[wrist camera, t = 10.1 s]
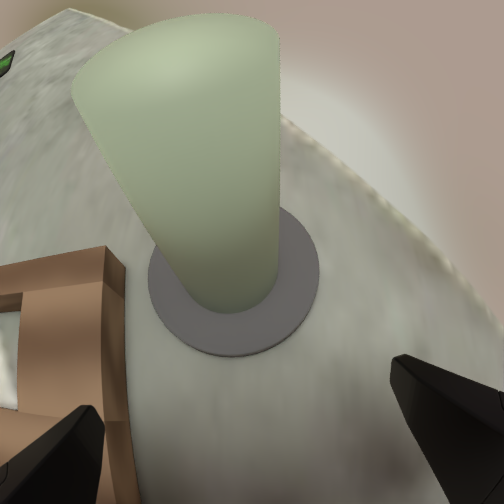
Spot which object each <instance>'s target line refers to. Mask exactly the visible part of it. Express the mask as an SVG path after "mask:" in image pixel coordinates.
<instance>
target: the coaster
mask: <svg viewBox="0 0 504 504" xmlns="http://www.w3.org/2000/svg"><path fill="white" fill-rule="evenodd" d="M318 282H319V261H318V255H317V252H316V249H315V246H314V243H313V241H312V239H311V237H310V235H309V234H308V232H307V231H306V229H305V228H304V226H303V225H302V224H301V223H300V222H299V221H298V220H297V219H296V218H295V217H294V216H293V215H291V214H290V213H289V212H287V211H286V210H284V209H283V208H281V207H279V252H278V274H277V279H276V282H275V284H274V286H273V288H272V290H271V291H270V293H269V294H268V295H267V297H266V298H265V299H264V300H263V301H261V302H260V303H259V304H258V305H256V306H254V307H253V308H251V309H249V310H246V311H243V312H239V313H233V314H222V313H217V312H213V311H210V310H208V309H205V308H203V307H202V306H200V305H199V304H198V303H197V302H195V301H194V300H193V298H192V297H191V296H190V295H189V293H188V292H187V290H186V289H185V287H184V286H183V285H182V283H181V282H180V280H179V279H178V277H177V276H176V274H175V273H174V271H173V270H172V268H171V267H170V265H169V264H168V262H167V261H166V259H165V258H164V256H163V254H162V253H161V251H160V250H159V248H158V247H157V245H156V246H155V248H154V251H153V254H152V256H151V260H150V264H149V270H148V288H149V293H150V298H151V301H152V304H153V306H154V309H155V311H156V313H157V314H158V316H159V318H160V319H161V321H162V322H163V323H164V325H165V326H166V327H167V328H168V329H169V330H170V331H171V332H172V333H173V334H174V335H175V336H177V337H178V338H179V339H180V340H182V341H183V342H185V343H186V344H187V345H189V346H191V347H193V348H195V349H197V350H199V351H202V352H204V353H207V354H211V355H216V356H222V357H242V356H248V355H253V354H257V353H260V352H262V351H265V350H268V349H270V348H272V347H274V346H276V345H278V344H279V343H280V342H282V341H283V340H285V339H286V338H288V337H289V336H290V335H291V334H292V333H293V332H294V331H295V330H296V329H297V328H298V327H299V325H300V324H301V323H302V322H303V320H304V319H305V317H306V315H307V314H308V312H309V310H310V308H311V305H312V303H313V301H314V298H315V295H316V291H317V287H318Z"/></svg>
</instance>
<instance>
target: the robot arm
mask: <svg viewBox="0 0 504 504" xmlns="http://www.w3.org/2000/svg"><path fill="white" fill-rule="evenodd" d="M390 384H391V387H392V389H393V392H394V394H395V396H396V399H397V401H398V403H399V406H400V408H401V411H402V413H403V415H404V418H405V420H406V422H407V425H408V427H409V428H410V430H411V432H412V434H413V436H414V437H415V439H416V441H417V443H418V445H419V446H420V448H421V450H422V452H423V454H424V455H425V457H426V459H427V461H428V463H429V465H430V467H431V468H432V470H433V472H434V474H435V476H436V478H437V480H438V481H439V483H440V485H441V487H442V489H443V491H444V493H445V495H446V497H447V499H448V501H449V503H450V504H504V392H502V391H499V392H498V390H496V389H494V388H491V387H488V386H486V385H483V384H480V383H478V382H475V381H473V380H470V379H467V378H465V377H462V376H460V375H457V374H455V373H452V372H450V371H447V370H444V369H442V368H439V367H437V366H434V365H432V364H429V363H427V362H424V361H422V360H420V359H417V358H415V357H412V356H410V355H407V354H402V355H399V356H396V357H394V358H393V359H392V362H391V372H390ZM104 437H105V425H104V422H103V421H102V419H101V417H100V416H99V414H98V412H97V411H96V409H95V407H94V406H92V405H80V406H79V407H77V408H76V409H75V410H73V411H72V412H71V413H70V414H68V415H67V416H66V417H64V418H63V419H62V420H61V421H59V422H58V423H57V424H55V425H54V426H53V427H52V428H50V429H49V430H48V431H46V432H45V433H44V434H42V435H41V436H40V437H39V438H37V439H36V440H35V441H33V442H32V443H31V444H30V445H28V446H27V447H26V448H24V449H23V450H22V451H20V452H19V453H18V454H16V455H15V456H14V457H13V458H11V459H10V460H9V462H6V463H5V464H3V465H2V466H1V467H0V504H96V499H97V493H98V487H99V482H100V476H101V470H102V460H103V448H104Z"/></svg>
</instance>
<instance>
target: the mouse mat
mask: <svg viewBox="0 0 504 504" xmlns="http://www.w3.org/2000/svg"><path fill="white" fill-rule="evenodd" d="M14 52H15V50H13V51H11V52H10V53H8V54H7V55H6V56H4V57H3V58H2V59H0V77H1V76H2V75H4V74H5V73H6V72H7V71H8V70H9V68H10V65H11V62H12V58H13V55H14Z"/></svg>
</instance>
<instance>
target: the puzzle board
mask: <svg viewBox="0 0 504 504" xmlns="http://www.w3.org/2000/svg"><path fill="white" fill-rule="evenodd" d="M124 295H125V267H124V265H123V264H122V263H121V262H120V261H119V260H118V259H117V258H116V257H115V255H114V254H113V253H112V252H111V251H110V250H109V249H108V248H107V246H106V245H105V246H100V247H95V248H89V249H84V250H79V251H73V252H68V253H63V254H58V255H53V256H48V257H43V258H38V259H33V260H28V261H23V262H18V263H13V264H9V265H4V266H0V312H12V311H21V316H20V327H19V340H18V361H17V399H18V410H12V409H7V408H2V407H0V467H1V466H2V465H3V464H5V463H6V462H9V460H10V459H11V458H13V457H14V456H15V455H16V454H18V453H19V452H20V451H22V450H23V449H24V448H26V447H27V446H28V445H30V444H31V443H32V442H33V441H35V440H36V439H37V438H39V437H40V436H41V435H42V434H44V433H45V432H46V431H48V430H49V429H50V428H52V427H53V426H54V425H55V424H57V423H58V422H59V421H61V420H62V419H63V418H64V417H66V416H67V415H68V414H70V413H71V412H72V411H73V410H75V409H76V408H77V407H79V406H80V405H92V406H94V407H95V409H96V411H97V412H98V414H99V416H100V417H101V419H102V421H103V422H104V425H105V437H104V448H103V460H102V470H101V476H100V482H99V487H98V493H97V499H96V504H141V498H140V493H139V488H138V482H137V476H136V470H135V463H134V456H133V449H132V441H131V432H130V423H129V413H128V401H127V388H126V370H125V342H124Z"/></svg>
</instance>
